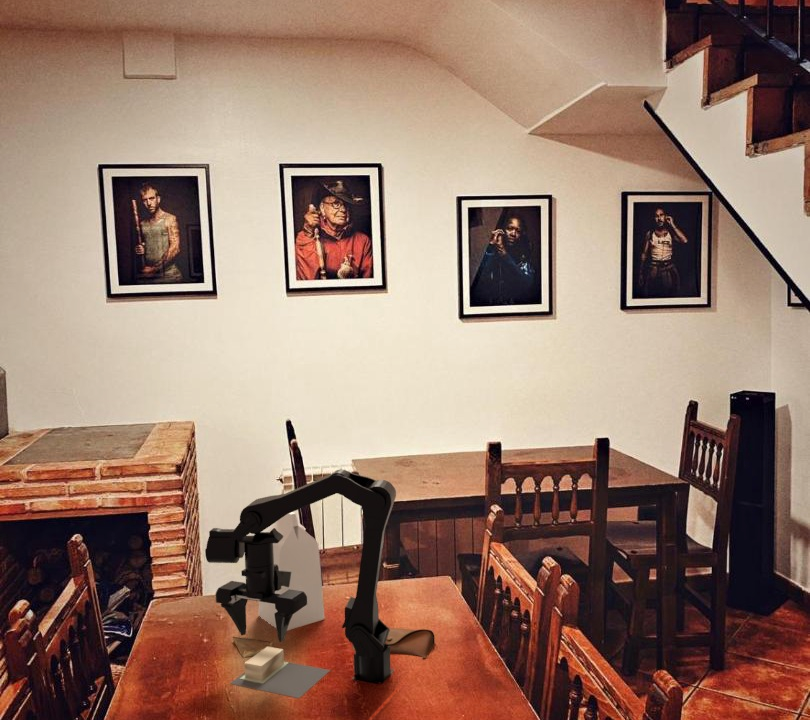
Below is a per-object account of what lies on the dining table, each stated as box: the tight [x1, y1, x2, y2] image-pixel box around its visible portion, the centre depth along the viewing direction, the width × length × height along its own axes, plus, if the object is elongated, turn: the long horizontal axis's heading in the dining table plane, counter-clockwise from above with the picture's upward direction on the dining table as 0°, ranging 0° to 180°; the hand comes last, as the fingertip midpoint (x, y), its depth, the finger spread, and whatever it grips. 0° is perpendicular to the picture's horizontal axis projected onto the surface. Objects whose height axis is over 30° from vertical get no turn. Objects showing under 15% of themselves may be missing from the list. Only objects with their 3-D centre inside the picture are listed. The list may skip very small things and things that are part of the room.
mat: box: [229, 660, 331, 699], centre depth 153 cm, size 16×12×1 cm
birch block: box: [244, 646, 285, 681], centre depth 156 cm, size 8×4×3 cm, turn 156°
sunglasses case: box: [351, 626, 435, 660], centre depth 167 cm, size 18×7×7 cm
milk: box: [257, 511, 326, 631], centre depth 184 cm, size 12×12×26 cm
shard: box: [232, 636, 274, 659], centre depth 169 cm, size 11×8×2 cm
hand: (262, 638), depth 156 cm, fingers open, 9 cm apart
